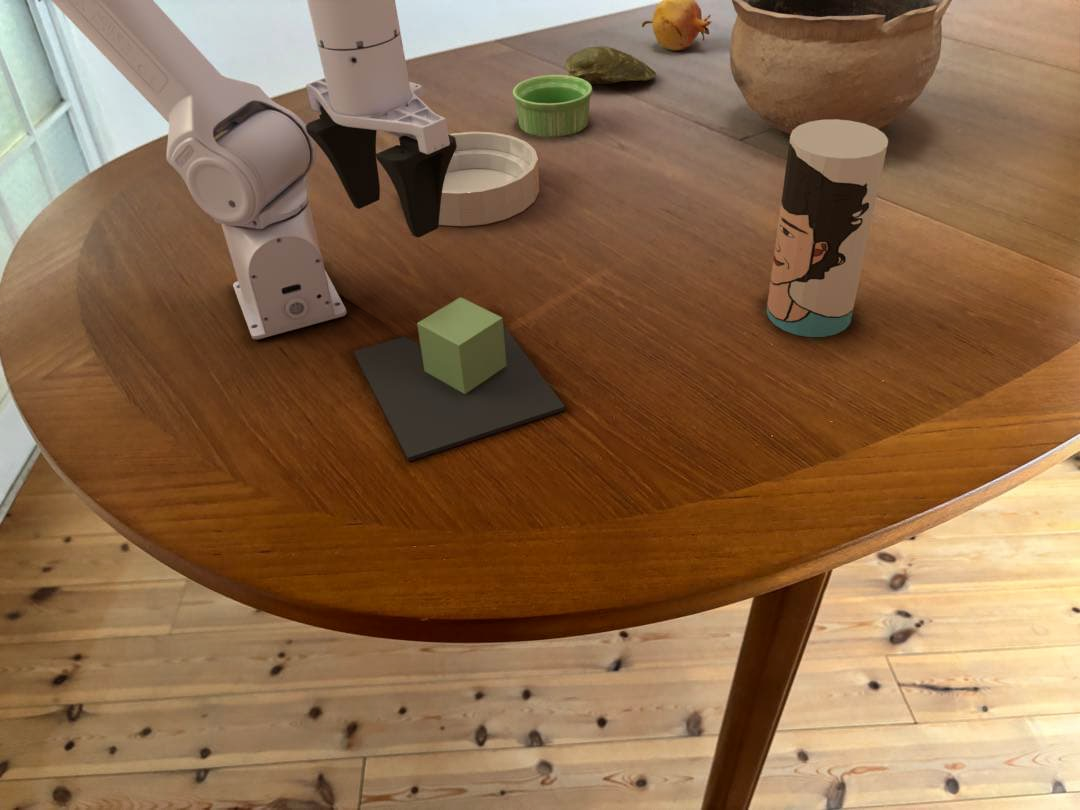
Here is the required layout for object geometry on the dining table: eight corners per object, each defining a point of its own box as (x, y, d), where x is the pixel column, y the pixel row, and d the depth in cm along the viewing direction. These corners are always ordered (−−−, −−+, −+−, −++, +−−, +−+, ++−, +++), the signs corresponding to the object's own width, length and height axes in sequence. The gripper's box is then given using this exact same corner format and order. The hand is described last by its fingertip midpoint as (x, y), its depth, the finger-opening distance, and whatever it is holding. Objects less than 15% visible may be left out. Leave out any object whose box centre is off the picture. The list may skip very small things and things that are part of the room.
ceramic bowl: (843, 188, 91) (871, 33, 82) (679, 128, 104) (687, -12, 95) (960, 122, 102) (997, -21, 93) (799, 75, 115) (816, -55, 106)
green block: (506, 366, 70) (502, 317, 68) (465, 394, 68) (458, 345, 65) (466, 344, 73) (460, 296, 70) (424, 371, 70) (416, 323, 68)
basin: (561, 209, 90) (560, 172, 88) (427, 244, 86) (422, 205, 84) (507, 157, 100) (504, 121, 98) (384, 185, 96) (378, 149, 94)
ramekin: (512, 114, 110) (510, 77, 107) (587, 108, 110) (586, 71, 107) (517, 145, 103) (515, 106, 100) (597, 138, 103) (597, 100, 100)
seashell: (670, 62, 116) (628, 16, 108) (649, 116, 115) (605, 73, 108) (608, 62, 122) (565, 18, 115) (588, 112, 122) (543, 72, 114)
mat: (565, 410, 67) (565, 406, 66) (408, 461, 63) (407, 457, 63) (493, 315, 77) (492, 311, 76) (354, 354, 73) (353, 350, 73)
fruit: (629, 6, 121) (698, 15, 117) (653, -21, 124) (721, -13, 120) (635, 53, 127) (701, 63, 122) (658, 26, 130) (723, 35, 125)
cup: (797, 282, 78) (824, 111, 69) (867, 312, 75) (906, 136, 65) (749, 314, 75) (771, 139, 66) (820, 347, 71) (854, 167, 62)
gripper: (471, 37, 60) (495, 224, 69) (347, 6, 69) (382, 174, 77) (385, 69, 57) (421, 262, 65) (265, 32, 65) (311, 205, 74)
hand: (395, 217), depth 71 cm, fingers open, 7 cm apart
